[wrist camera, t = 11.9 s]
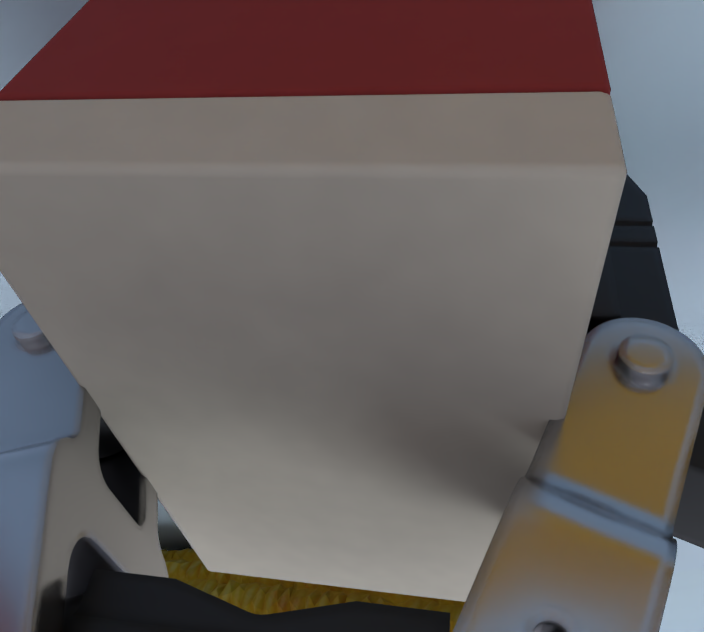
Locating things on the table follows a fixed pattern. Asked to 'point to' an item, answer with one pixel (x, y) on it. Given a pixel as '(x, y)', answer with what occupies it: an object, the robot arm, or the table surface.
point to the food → (287, 590)
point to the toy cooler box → (318, 262)
